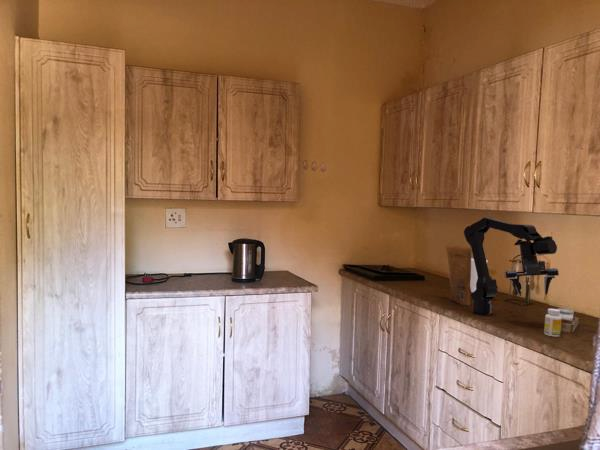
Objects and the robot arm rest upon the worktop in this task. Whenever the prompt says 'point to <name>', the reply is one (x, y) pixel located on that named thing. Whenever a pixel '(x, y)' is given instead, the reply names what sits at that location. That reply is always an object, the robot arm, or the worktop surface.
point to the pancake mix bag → (459, 272)
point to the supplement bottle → (552, 323)
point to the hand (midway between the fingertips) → (533, 295)
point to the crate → (569, 325)
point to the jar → (566, 313)
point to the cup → (473, 276)
